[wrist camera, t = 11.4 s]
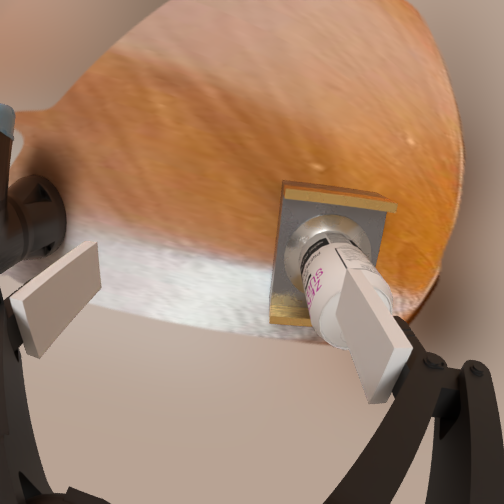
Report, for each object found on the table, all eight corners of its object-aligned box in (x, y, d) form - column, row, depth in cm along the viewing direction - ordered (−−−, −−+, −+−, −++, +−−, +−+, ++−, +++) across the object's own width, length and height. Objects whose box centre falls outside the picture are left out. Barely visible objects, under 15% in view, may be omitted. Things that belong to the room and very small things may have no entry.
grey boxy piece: (269, 295, 48) (269, 323, 41) (282, 180, 42) (285, 188, 35) (354, 302, 48) (367, 329, 41) (376, 192, 42) (397, 203, 34)
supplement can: (363, 275, 41) (402, 338, 27) (307, 293, 42) (323, 364, 28) (350, 221, 38) (392, 266, 24) (290, 240, 40) (301, 296, 25)
